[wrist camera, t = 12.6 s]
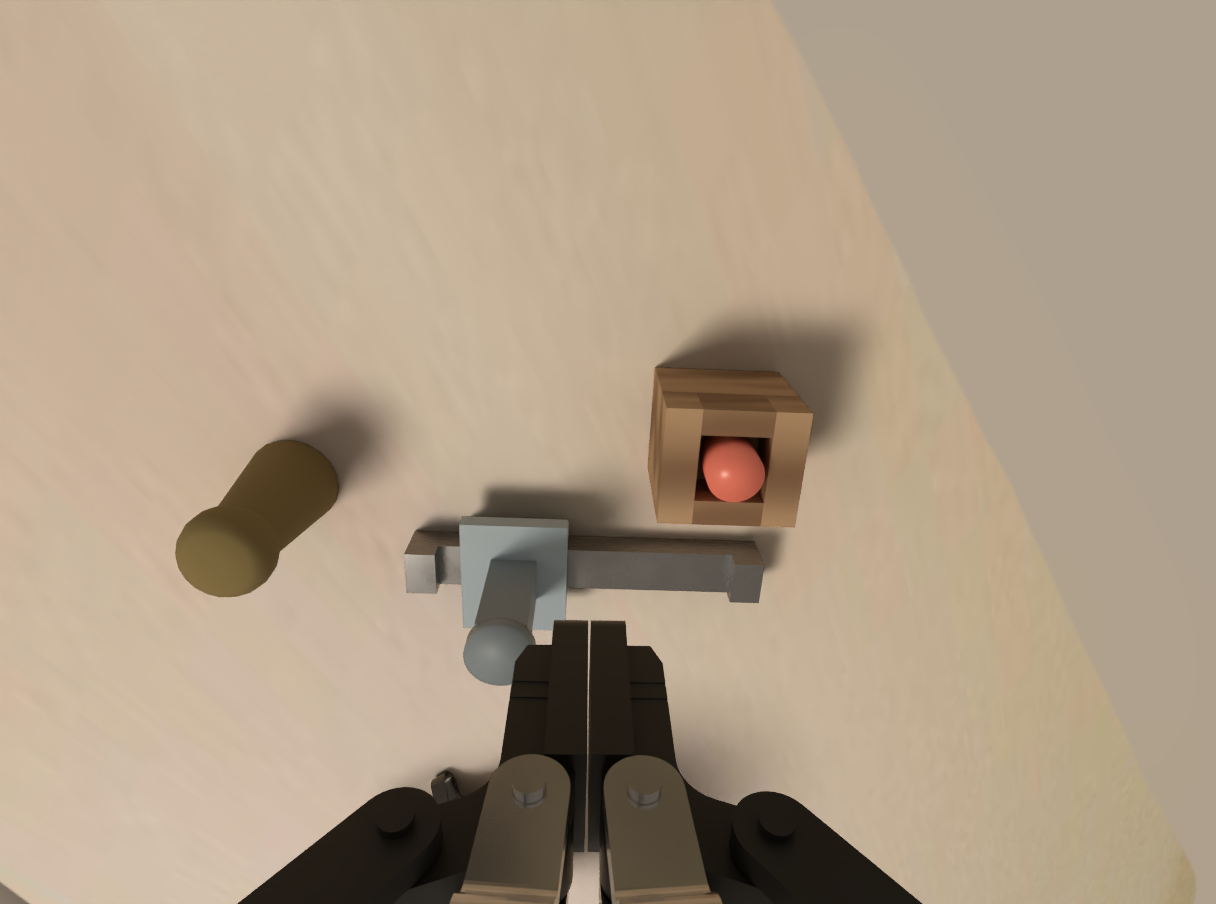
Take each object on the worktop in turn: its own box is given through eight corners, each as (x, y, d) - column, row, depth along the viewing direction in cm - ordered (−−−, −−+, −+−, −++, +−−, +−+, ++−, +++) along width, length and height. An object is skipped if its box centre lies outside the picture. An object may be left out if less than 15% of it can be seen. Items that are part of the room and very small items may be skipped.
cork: (356, 481, 48) (293, 567, 38) (303, 536, 50) (229, 633, 40) (282, 422, 47) (195, 496, 37) (230, 481, 48) (132, 568, 38)
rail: (415, 530, 50) (404, 554, 47) (754, 541, 51) (764, 565, 48) (417, 567, 51) (406, 592, 48) (749, 577, 52) (758, 602, 49)
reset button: (701, 428, 41) (709, 448, 38) (756, 430, 41) (768, 450, 38) (696, 478, 42) (703, 501, 40) (750, 480, 42) (760, 503, 40)
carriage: (467, 502, 49) (433, 595, 39) (569, 505, 49) (562, 599, 39) (470, 600, 52) (439, 711, 42) (566, 602, 52) (559, 714, 42)
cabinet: (655, 367, 46) (666, 407, 38) (778, 372, 46) (813, 413, 39) (647, 472, 49) (656, 529, 41) (763, 476, 49) (793, 533, 41)
